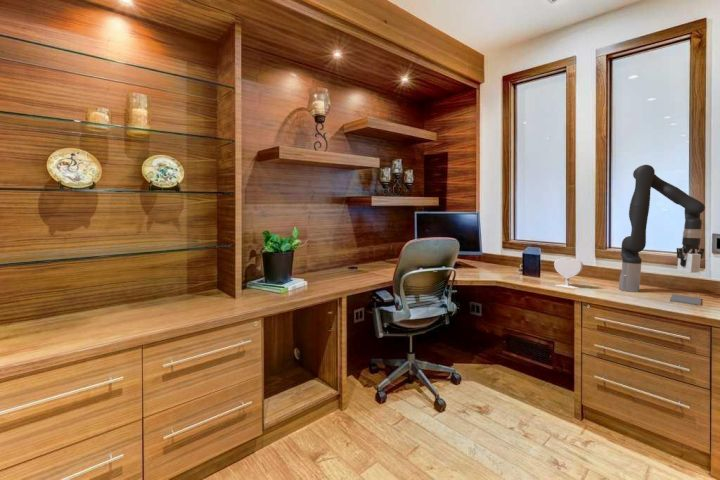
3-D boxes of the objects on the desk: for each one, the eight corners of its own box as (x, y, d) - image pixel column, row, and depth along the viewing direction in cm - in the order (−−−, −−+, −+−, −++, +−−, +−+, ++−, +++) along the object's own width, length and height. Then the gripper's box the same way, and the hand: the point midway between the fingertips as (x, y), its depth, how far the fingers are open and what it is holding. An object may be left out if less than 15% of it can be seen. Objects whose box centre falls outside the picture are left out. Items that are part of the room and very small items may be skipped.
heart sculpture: (581, 288, 223) (583, 259, 221) (579, 289, 219) (581, 260, 217) (555, 283, 234) (556, 256, 232) (552, 285, 231) (554, 257, 229)
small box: (699, 272, 199) (701, 254, 198) (690, 272, 199) (692, 254, 198) (685, 270, 207) (687, 252, 206) (676, 270, 207) (678, 252, 206)
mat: (700, 305, 184) (700, 304, 184) (669, 301, 192) (670, 299, 192) (700, 299, 197) (701, 297, 197) (672, 295, 205) (672, 294, 205)
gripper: (685, 237, 197) (681, 267, 199) (710, 237, 197) (707, 267, 199) (673, 236, 205) (670, 264, 206) (698, 236, 205) (695, 265, 206)
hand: (688, 266), depth 203 cm, fingers closed on small box, 6 cm apart
